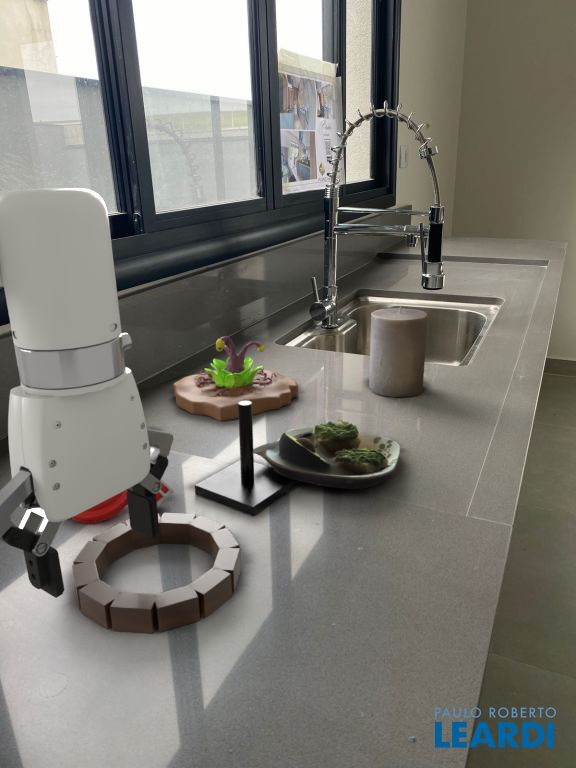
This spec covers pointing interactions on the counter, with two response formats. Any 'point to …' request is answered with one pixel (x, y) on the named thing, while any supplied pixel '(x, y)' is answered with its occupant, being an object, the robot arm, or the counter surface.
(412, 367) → the pillar candle
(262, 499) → the stand
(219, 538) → the ring
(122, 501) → the tracker holder
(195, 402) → the plant
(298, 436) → the salad plate
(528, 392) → the counter surface
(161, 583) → the counter surface
